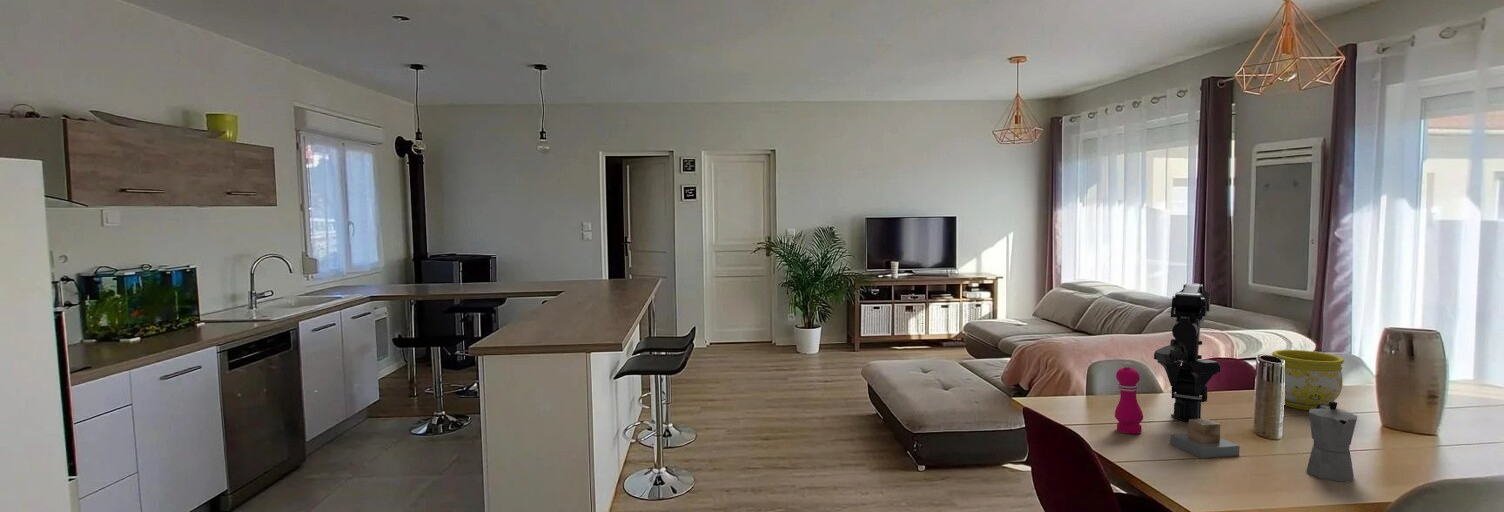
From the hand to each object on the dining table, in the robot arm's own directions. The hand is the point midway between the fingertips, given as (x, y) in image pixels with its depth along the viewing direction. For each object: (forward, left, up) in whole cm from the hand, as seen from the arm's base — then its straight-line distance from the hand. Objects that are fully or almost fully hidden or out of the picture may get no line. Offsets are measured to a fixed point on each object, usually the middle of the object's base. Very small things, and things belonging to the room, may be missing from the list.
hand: (1184, 390), depth 200 cm
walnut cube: (+6, +14, -10) cm, 18 cm away
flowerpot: (-57, -15, -12) cm, 60 cm away
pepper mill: (+15, -3, -12) cm, 20 cm away
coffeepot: (-10, +34, -12) cm, 37 cm away
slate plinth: (+6, +14, -12) cm, 19 cm away
